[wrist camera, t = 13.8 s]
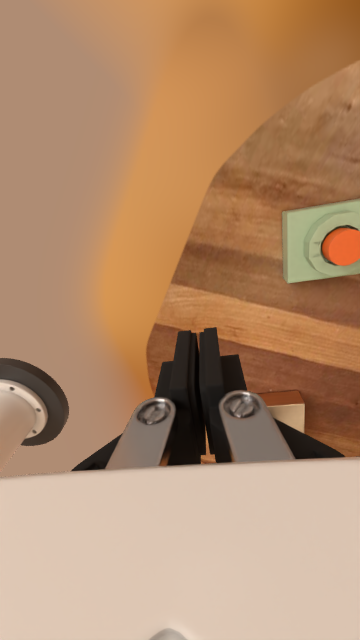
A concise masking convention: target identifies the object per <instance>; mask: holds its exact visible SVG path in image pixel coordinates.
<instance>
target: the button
mask: <svg viewBox="0 0 360 640" xmlns="http://www.w3.org/2000/svg"><path fill="white" fill-rule="evenodd" d="M322 252H323V255H324V257H325V258H326V259H327V260H329V261H331V262H333V263H335V264H337V265H340V266H346V265H350V264H352V263H354V262H356V261H357V260H359V259H360V231H357V230H354V229H350V228H338V229H336V230H334V231H332V232H331V233H330V234H328V236H327V237H326V238H325V240H324V242H323V245H322Z"/></svg>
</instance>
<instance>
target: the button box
mask: <svg viewBox="0 0 360 640" xmlns="http://www.w3.org/2000/svg"><path fill="white" fill-rule="evenodd" d="M338 228H350V229H354V230H357V231H360V199H355V200H349V201H343V202H337V203H331V204H325V205H319V206H313V207H307V208H301V209H295V210H289V211H283V212H282V240H283V279H284V280H285V281H286V282H287V283H294V282H302V281H309V280H317V279H324V278H332V277H339V276H347V275H354V274H360V259H359V260H357V261H356V262H354V263H352V264H350V265H346V266H340V265H337V264H335V263H333V262H331V261H329V260H327V259H326V258H325V257H324V255H323V252H322V245H323V242H324V240H325V238H326V237H327V236H328V234H330V233H331V232H332V231H334V230H336V229H338Z"/></svg>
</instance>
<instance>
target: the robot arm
mask: <svg viewBox="0 0 360 640" xmlns="http://www.w3.org/2000/svg"><path fill="white" fill-rule="evenodd" d="M47 420H48V413H47V409H46V406H45V404H44V403H43V401H42V400H41V398H40V397H39V396H38V395H37V394H36V393H35V392H34V391H32V390H31V389H30V388H28V387H26V386H25V385H22V384H20V383H18V382H14V381H11V380H4V379H0V472H1V471H2V469H3V468H4V467H5V465H6V464H7V462H8V461H9V460H10V458H11V457H12V456H13V454H14V452H16V450H17V449H18V447H19V446H20V445H21V443H22V442H23V441H24V439H25V438H30V437H33V436H36V435H37V434H39V433H40V432H41V431H42V430H43V428H44V427H45V425H46V423H47ZM205 425H206V431H207V437H208V443H209V449H210V454H215V460H216V462H217V463H213V464H201V455H206V432H205ZM0 640H360V457H359V456H356V457H345V456H344V455H343V454H341V453H339V452H338V451H336V450H335V449H333V448H331V447H329V446H327V445H325V444H323V443H321V442H319V441H317V440H316V439H314V438H312V437H310V436H308V435H306V434H304V433H302V432H300V431H298V430H296V429H294V428H292V427H291V426H289V425H287V424H285V423H283V422H281V421H279V420H277V419H275V418H273V417H272V415H271V413H270V411H269V410H268V408H267V406H266V404H265V402H264V400H263V399H262V398H261V397H260V396H259V395H257V394H256V393H253V392H251V391H247V388H246V384H245V380H244V376H243V372H242V368H241V363H240V359H239V355H238V354H237V355H227V356H220V352H219V344H218V336H217V328H216V327H215V328H206V329H204V332H200V350H199V349H198V342H197V336H196V333H191V330H189V331H180V332H178V337H177V343H176V349H175V355H174V361H168V362H163V363H162V366H161V371H160V375H159V380H158V384H157V388H156V393H155V397H154V398H151V399H148V400H146V401H144V402H142V403H141V404H140V405H138V406H137V408H136V409H135V410H134V412H133V414H132V416H131V418H130V420H129V422H128V424H127V426H126V428H125V430H124V432H123V433H122V434H121V435H120V436H118V437H117V438H115V439H114V440H112V441H111V442H110V443H108V444H107V445H105V446H104V447H102V448H101V449H100V450H98V451H97V452H95V453H94V454H92V455H91V456H90V457H88V458H87V459H85V460H84V461H83V462H81V463H80V464H78V465H77V466H76V467H75V468H74V469H72V471H70V472H54V473H38V474H28V475H18V476H8V477H0Z"/></svg>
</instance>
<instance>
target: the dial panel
mask: <svg viewBox="0 0 360 640" xmlns="http://www.w3.org/2000/svg"><path fill="white" fill-rule="evenodd" d="M257 395H259V396H260V397H261V398H262V399H263V400H264V402H265V404H266V406H267V408H268V410H269V411H270V413H271V415H272V417H273V418H275V419H277V420H279V421H281V422H283V423H285V424H287V425H289V426H291V427H292V428H294V429H296V430H298V431H300V432H302V433H304V416H305V403H304V401H303V399H302V397H301V395H300V393H299V391H298V390H296V391H284V392H272V393H259V394H257Z"/></svg>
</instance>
